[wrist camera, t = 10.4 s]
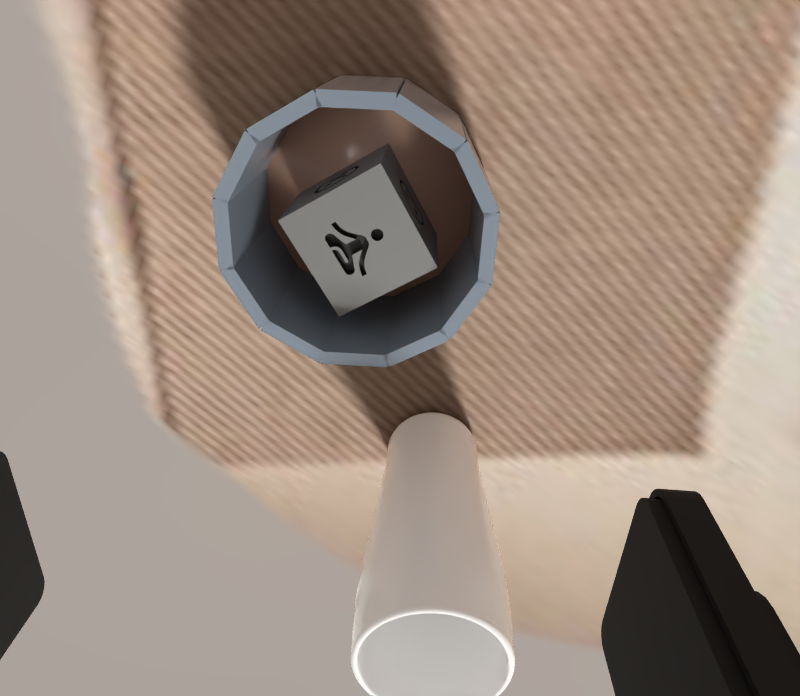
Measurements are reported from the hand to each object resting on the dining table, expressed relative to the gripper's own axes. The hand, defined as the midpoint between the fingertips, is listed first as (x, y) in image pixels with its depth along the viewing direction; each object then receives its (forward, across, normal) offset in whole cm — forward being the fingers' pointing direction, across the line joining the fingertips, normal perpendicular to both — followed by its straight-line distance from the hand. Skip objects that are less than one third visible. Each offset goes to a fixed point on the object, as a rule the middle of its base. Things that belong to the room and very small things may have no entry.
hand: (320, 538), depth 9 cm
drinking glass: (+24, -3, +16) cm, 29 cm away
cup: (+24, +2, +1) cm, 24 cm away
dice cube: (+24, +2, +2) cm, 24 cm away
